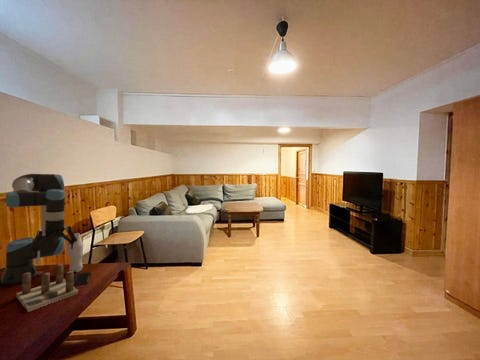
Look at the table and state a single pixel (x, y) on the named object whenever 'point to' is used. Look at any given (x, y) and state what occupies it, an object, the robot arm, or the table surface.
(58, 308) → the table surface
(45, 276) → the hinged leg
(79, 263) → the water bottle
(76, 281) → the phone
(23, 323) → the table surface
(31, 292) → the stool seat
